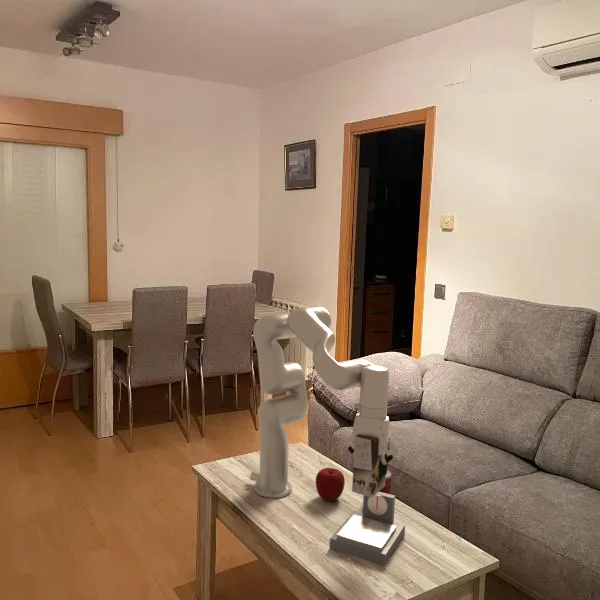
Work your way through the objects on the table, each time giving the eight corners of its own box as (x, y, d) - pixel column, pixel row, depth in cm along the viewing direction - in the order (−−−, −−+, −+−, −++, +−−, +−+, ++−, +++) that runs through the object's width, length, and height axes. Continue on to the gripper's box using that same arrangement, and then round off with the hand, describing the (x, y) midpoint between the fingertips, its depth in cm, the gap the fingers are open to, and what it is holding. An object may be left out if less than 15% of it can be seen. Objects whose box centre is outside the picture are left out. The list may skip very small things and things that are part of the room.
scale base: (329, 548, 159) (331, 510, 158) (353, 520, 175) (355, 485, 174) (384, 565, 152) (387, 526, 151) (404, 534, 168) (406, 498, 167)
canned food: (389, 512, 181) (390, 478, 179) (363, 508, 182) (365, 475, 181) (390, 501, 188) (392, 469, 187) (365, 497, 190) (367, 466, 188)
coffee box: (372, 498, 155) (375, 441, 153) (351, 491, 158) (353, 435, 156) (386, 486, 162) (389, 431, 160) (365, 480, 166) (368, 426, 164)
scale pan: (336, 538, 159) (336, 534, 159) (353, 517, 171) (353, 514, 170) (381, 551, 153) (381, 547, 153) (396, 529, 165) (396, 525, 165)
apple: (337, 490, 194) (338, 462, 193) (348, 503, 185) (350, 474, 184) (311, 493, 191) (312, 465, 190) (321, 507, 182) (322, 477, 181)
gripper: (338, 409, 158) (335, 471, 160) (399, 420, 150) (395, 485, 153) (348, 402, 165) (346, 462, 167) (407, 413, 157) (404, 475, 159)
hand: (369, 472), depth 160 cm, fingers closed on coffee box, 6 cm apart
